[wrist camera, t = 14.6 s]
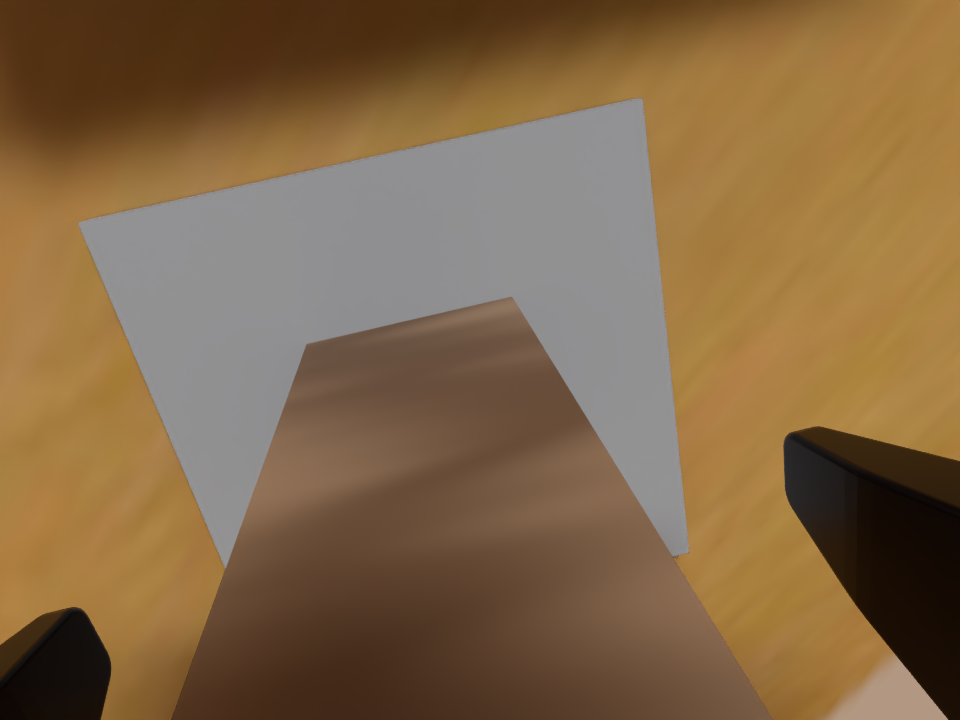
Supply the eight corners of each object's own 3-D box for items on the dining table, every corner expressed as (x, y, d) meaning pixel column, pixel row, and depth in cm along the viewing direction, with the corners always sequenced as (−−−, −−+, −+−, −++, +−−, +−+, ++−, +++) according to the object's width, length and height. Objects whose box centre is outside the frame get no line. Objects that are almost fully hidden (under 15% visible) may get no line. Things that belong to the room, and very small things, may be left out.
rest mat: (634, 98, 11) (642, 98, 11) (682, 541, 14) (689, 552, 14) (89, 219, 11) (77, 223, 10) (267, 643, 14) (263, 658, 14)
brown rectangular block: (511, 296, 12) (989, 1070, 2) (546, 472, 13) (935, 1412, 4) (306, 344, 11) (-63, 1371, 2) (362, 517, 13) (282, 1610, 4)
